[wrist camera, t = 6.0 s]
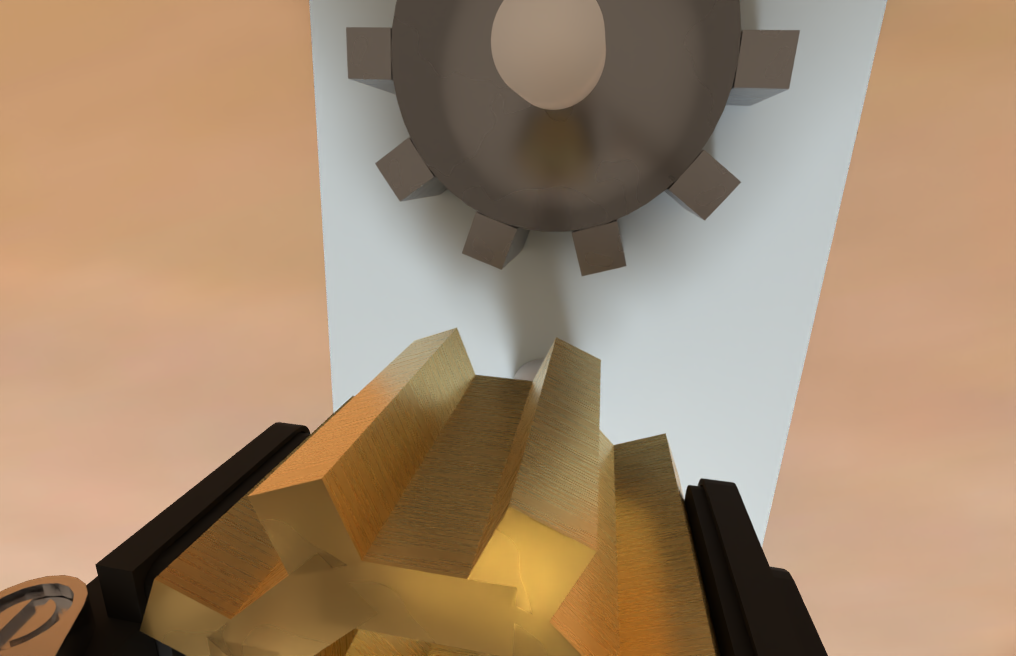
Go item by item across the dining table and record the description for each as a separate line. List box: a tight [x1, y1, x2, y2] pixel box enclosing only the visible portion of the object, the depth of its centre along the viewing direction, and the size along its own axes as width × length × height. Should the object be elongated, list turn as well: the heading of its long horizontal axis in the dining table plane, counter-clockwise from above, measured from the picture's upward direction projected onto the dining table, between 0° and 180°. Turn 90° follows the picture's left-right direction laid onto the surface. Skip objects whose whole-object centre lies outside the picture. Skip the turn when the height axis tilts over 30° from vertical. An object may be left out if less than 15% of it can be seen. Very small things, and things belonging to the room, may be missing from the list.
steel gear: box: [346, 0, 800, 276], centre depth 12 cm, size 9×9×3 cm
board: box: [309, 0, 887, 547], centre depth 14 cm, size 14×26×6 cm, turn 177°
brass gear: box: [140, 328, 720, 656], centre depth 8 cm, size 7×7×5 cm
